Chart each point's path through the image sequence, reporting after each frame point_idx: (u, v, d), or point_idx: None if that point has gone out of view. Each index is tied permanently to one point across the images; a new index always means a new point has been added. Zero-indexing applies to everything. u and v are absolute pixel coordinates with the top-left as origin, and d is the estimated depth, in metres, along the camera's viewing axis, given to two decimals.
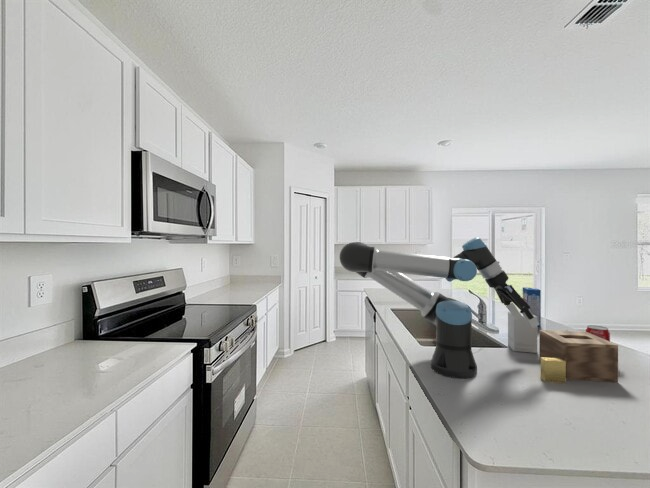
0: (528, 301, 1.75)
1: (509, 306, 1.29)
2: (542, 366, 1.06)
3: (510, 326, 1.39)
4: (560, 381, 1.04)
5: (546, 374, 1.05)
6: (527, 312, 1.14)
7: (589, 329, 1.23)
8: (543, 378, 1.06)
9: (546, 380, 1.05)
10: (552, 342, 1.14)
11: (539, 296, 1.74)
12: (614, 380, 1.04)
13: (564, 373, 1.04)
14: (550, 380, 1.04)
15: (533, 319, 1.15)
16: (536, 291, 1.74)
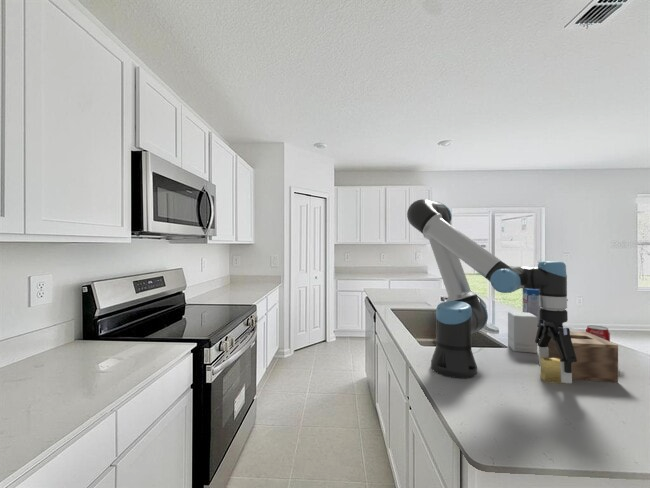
0: (528, 301, 1.75)
1: (542, 349, 1.12)
2: (542, 366, 1.06)
3: (510, 326, 1.39)
4: (560, 381, 1.04)
5: (546, 374, 1.05)
6: (568, 364, 0.97)
7: (589, 329, 1.23)
8: (543, 378, 1.06)
9: (546, 380, 1.05)
10: (552, 342, 1.14)
11: None
12: (614, 380, 1.04)
13: None
14: (550, 380, 1.04)
15: (568, 374, 0.98)
16: (536, 291, 1.74)
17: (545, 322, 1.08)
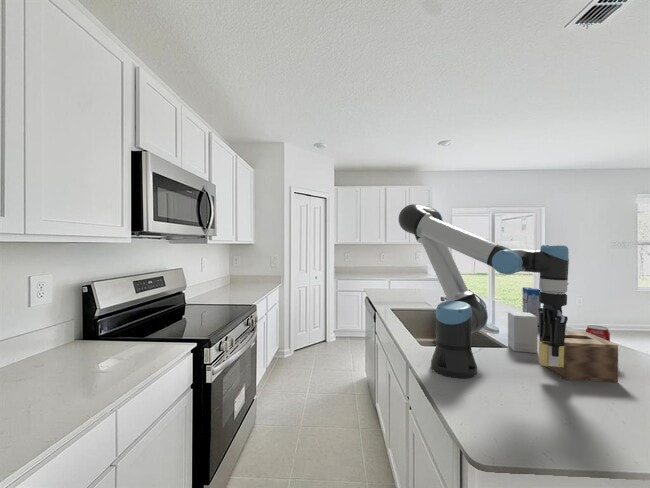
0: (528, 301, 1.75)
1: None
2: (540, 350, 1.07)
3: (510, 326, 1.39)
4: (558, 365, 1.04)
5: (544, 358, 1.05)
6: (556, 348, 1.03)
7: (589, 329, 1.23)
8: (541, 362, 1.06)
9: (544, 364, 1.05)
10: None
11: None
12: (614, 380, 1.04)
13: (562, 357, 1.04)
14: None
15: (555, 358, 1.04)
16: (536, 291, 1.74)
17: (543, 305, 1.09)
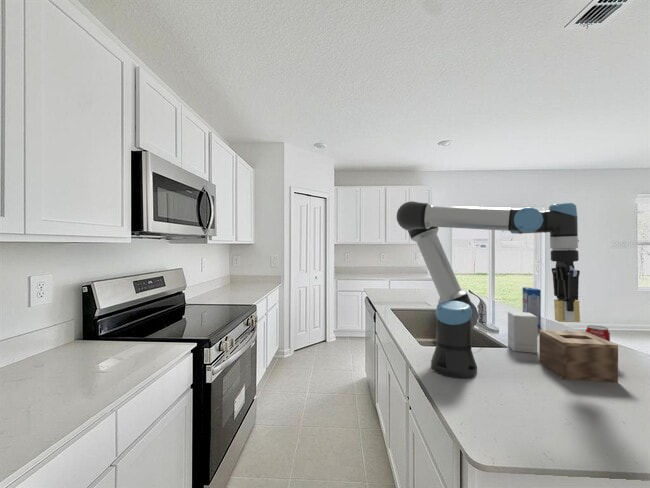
0: (528, 301, 1.75)
1: None
2: (556, 307, 1.09)
3: (510, 326, 1.39)
4: None
5: (560, 314, 1.07)
6: (570, 303, 1.05)
7: (589, 329, 1.23)
8: (557, 319, 1.08)
9: (560, 320, 1.07)
10: (552, 342, 1.14)
11: (539, 296, 1.74)
12: (614, 380, 1.04)
13: (578, 312, 1.06)
14: None
15: (571, 313, 1.06)
16: (536, 291, 1.74)
17: (556, 264, 1.12)
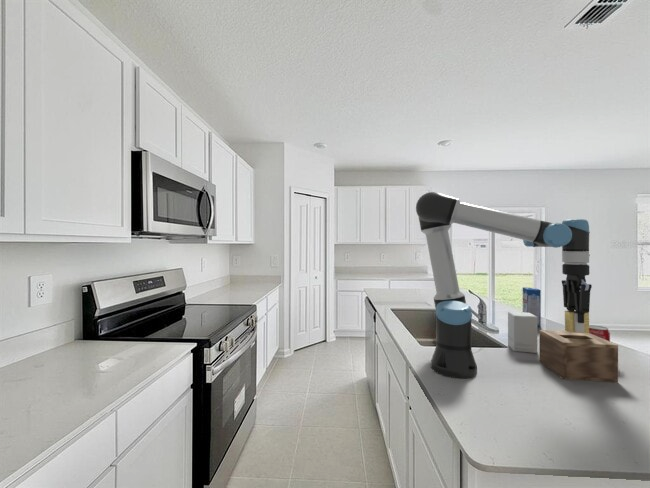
0: (528, 301, 1.75)
1: None
2: (566, 318, 1.14)
3: (510, 326, 1.39)
4: (584, 331, 1.12)
5: (571, 325, 1.12)
6: (581, 315, 1.10)
7: (589, 329, 1.23)
8: (568, 329, 1.14)
9: (571, 331, 1.12)
10: (552, 342, 1.14)
11: (539, 296, 1.74)
12: (614, 380, 1.04)
13: (587, 323, 1.12)
14: None
15: (581, 325, 1.11)
16: (536, 291, 1.74)
17: (567, 277, 1.17)
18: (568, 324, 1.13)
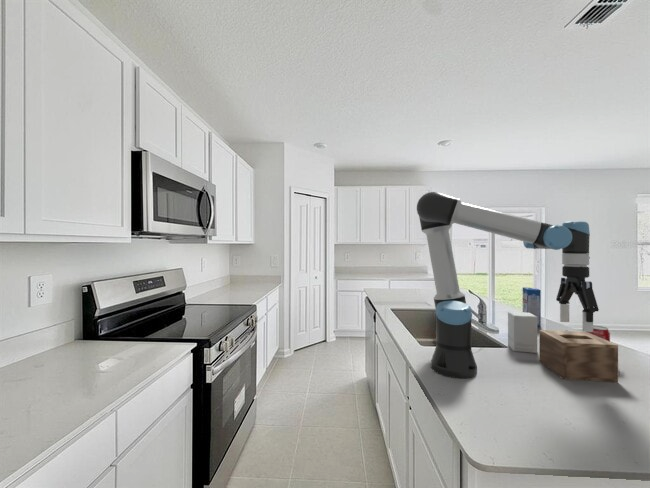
0: (528, 301, 1.75)
1: (563, 305, 1.20)
2: None
3: (510, 326, 1.39)
4: None
5: None
6: (590, 314, 1.05)
7: None
8: None
9: None
10: (552, 342, 1.14)
11: (539, 296, 1.74)
12: (614, 380, 1.04)
13: None
14: None
15: (590, 324, 1.06)
16: (536, 291, 1.74)
17: (567, 279, 1.16)
18: None
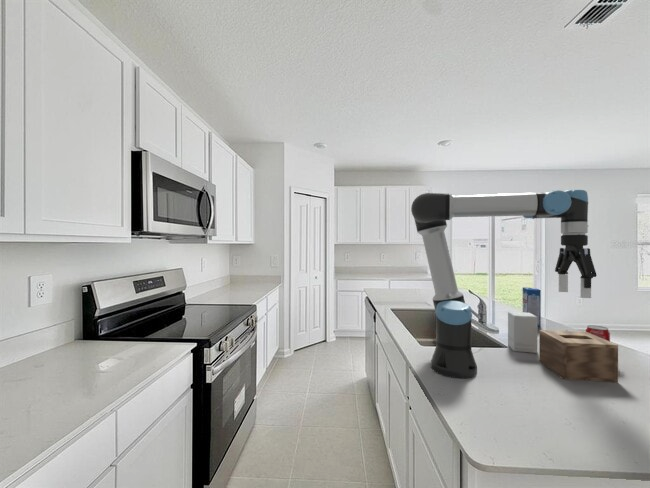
0: (528, 301, 1.75)
1: (562, 276, 1.20)
2: None
3: (510, 326, 1.39)
4: None
5: None
6: (588, 280, 1.06)
7: (589, 329, 1.23)
8: None
9: None
10: (552, 342, 1.14)
11: (539, 296, 1.74)
12: (614, 380, 1.04)
13: None
14: None
15: (588, 290, 1.07)
16: (536, 291, 1.74)
17: (566, 249, 1.17)
18: None
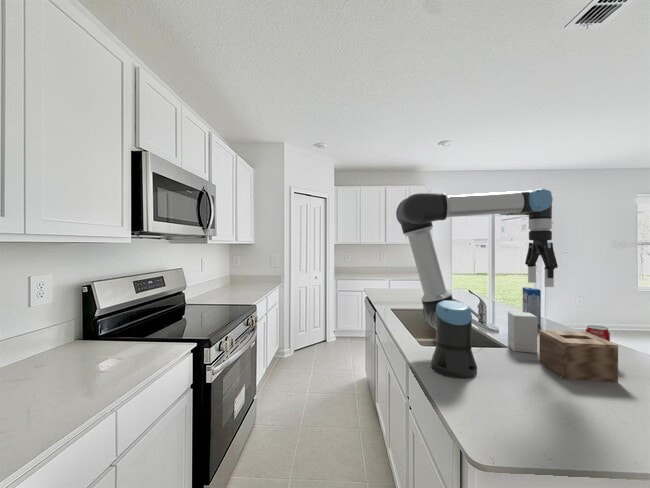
0: (528, 301, 1.75)
1: (531, 268, 1.33)
2: None
3: (510, 326, 1.39)
4: None
5: None
6: (551, 271, 1.18)
7: (589, 329, 1.23)
8: None
9: None
10: (552, 342, 1.14)
11: (539, 296, 1.74)
12: (614, 380, 1.04)
13: None
14: None
15: (551, 280, 1.19)
16: (536, 291, 1.74)
17: (533, 243, 1.29)
18: None
